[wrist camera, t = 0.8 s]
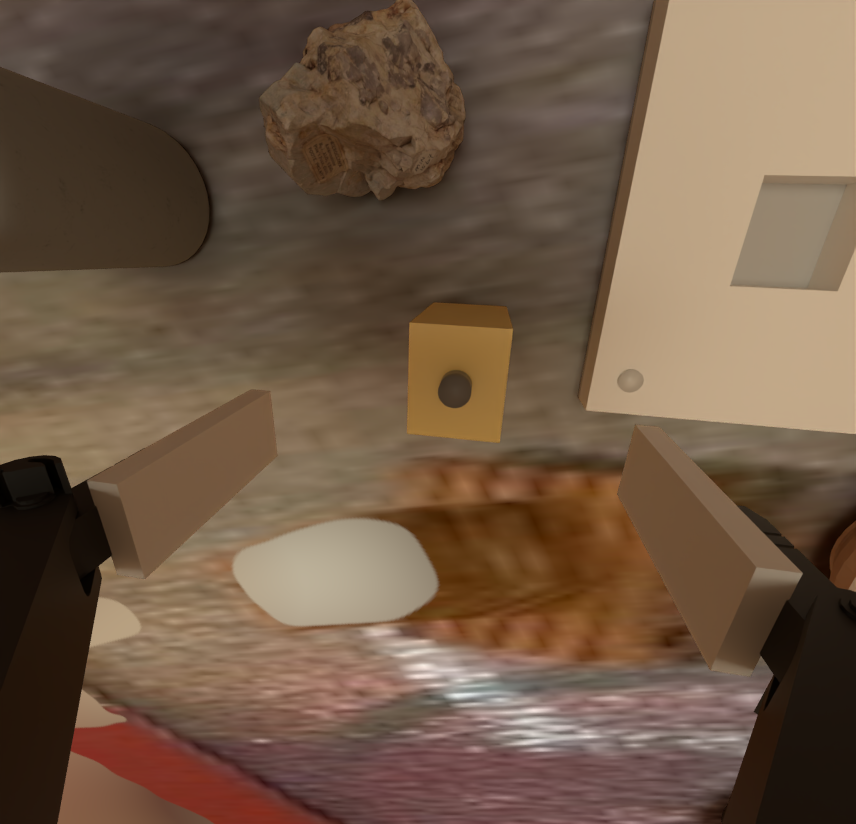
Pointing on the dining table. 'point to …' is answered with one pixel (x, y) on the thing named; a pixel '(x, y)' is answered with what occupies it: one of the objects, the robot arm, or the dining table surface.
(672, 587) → the robot arm
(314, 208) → the dining table surface
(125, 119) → the water bottle
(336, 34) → the rock
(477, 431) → the plug
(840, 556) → the bowl
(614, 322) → the socket plate
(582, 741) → the dining table surface
